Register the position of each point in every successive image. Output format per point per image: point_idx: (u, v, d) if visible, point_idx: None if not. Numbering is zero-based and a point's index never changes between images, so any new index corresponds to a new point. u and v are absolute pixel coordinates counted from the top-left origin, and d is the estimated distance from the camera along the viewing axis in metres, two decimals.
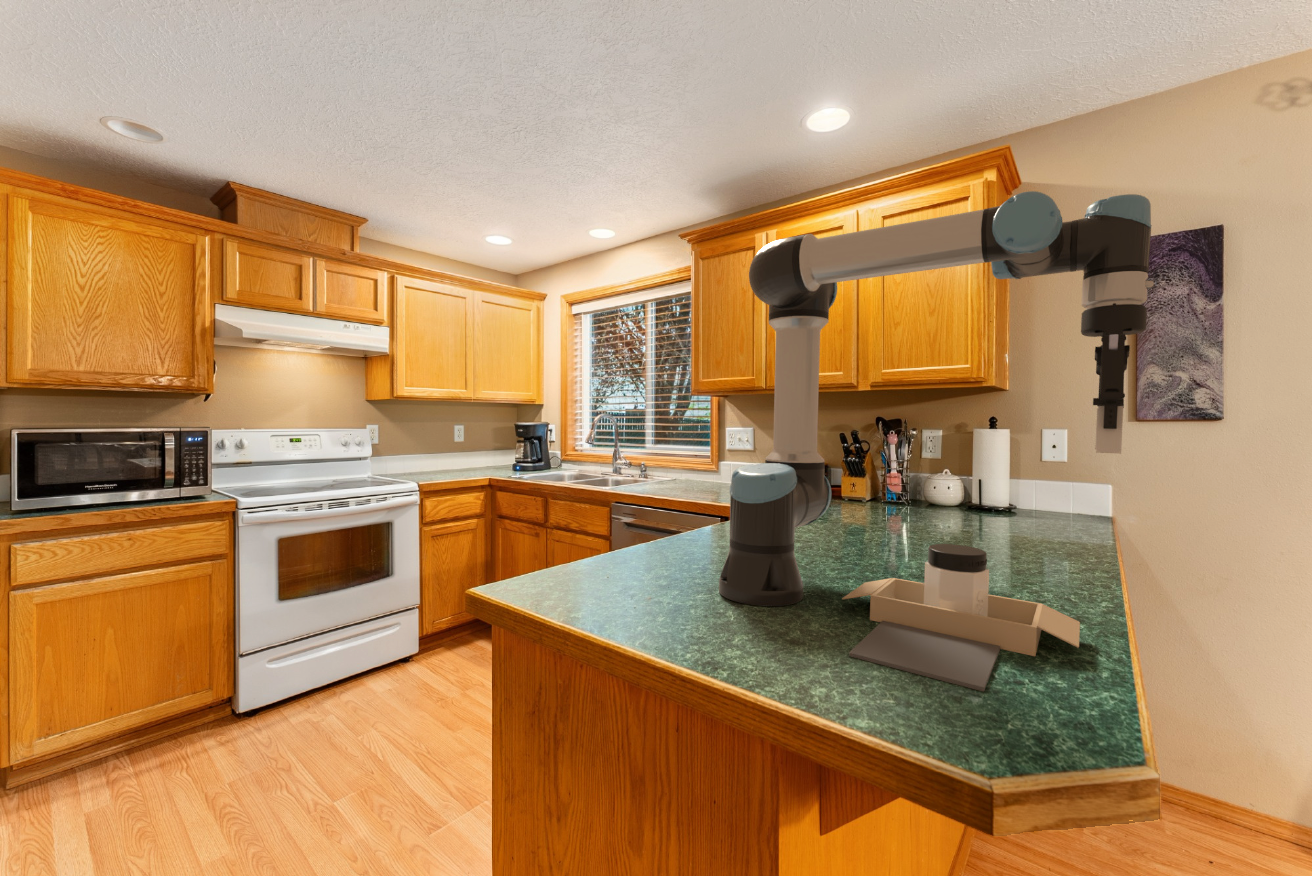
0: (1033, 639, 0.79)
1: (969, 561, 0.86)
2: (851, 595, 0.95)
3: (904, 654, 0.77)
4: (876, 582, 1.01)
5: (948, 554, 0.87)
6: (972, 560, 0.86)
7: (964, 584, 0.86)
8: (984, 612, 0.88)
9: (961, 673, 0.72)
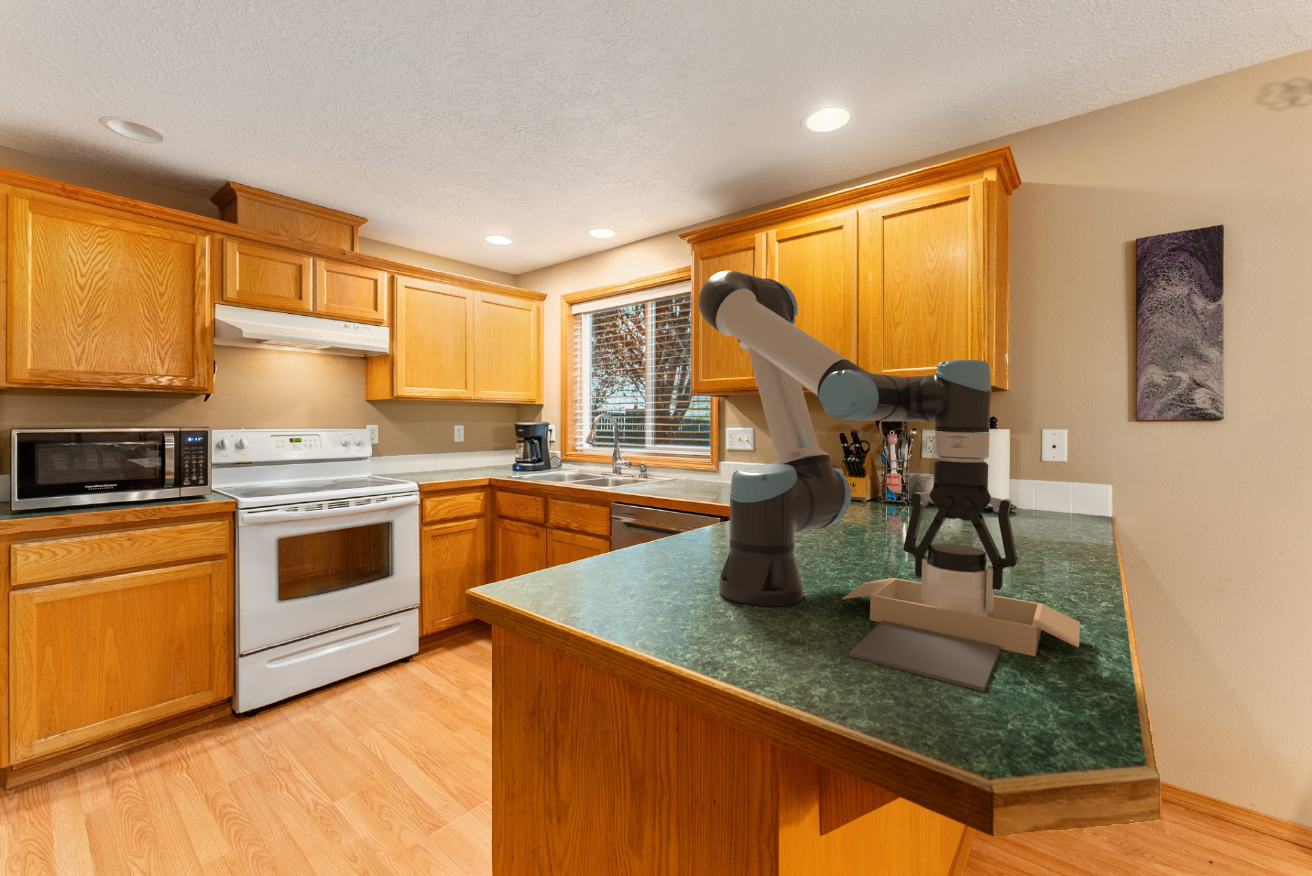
0: (1033, 639, 0.79)
1: (969, 561, 0.86)
2: (851, 595, 0.95)
3: (904, 654, 0.77)
4: (876, 582, 1.01)
5: (948, 554, 0.87)
6: (972, 560, 0.86)
7: (964, 584, 0.86)
8: (984, 612, 0.88)
9: (961, 673, 0.72)
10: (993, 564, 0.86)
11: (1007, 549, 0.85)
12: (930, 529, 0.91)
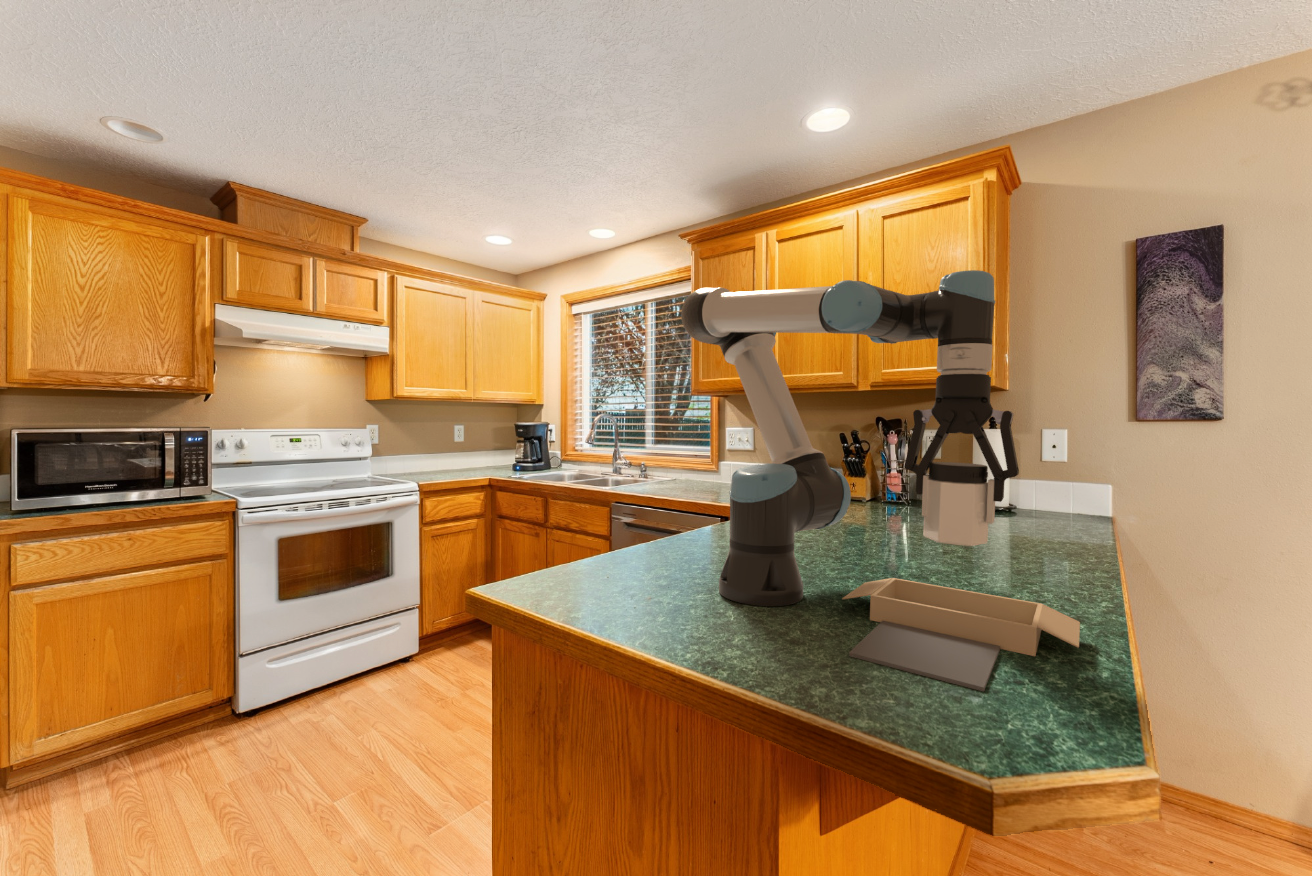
0: (1033, 639, 0.79)
1: (970, 472, 0.86)
2: (851, 595, 0.95)
3: (904, 654, 0.77)
4: (876, 582, 1.01)
5: (949, 466, 0.87)
6: (973, 471, 0.86)
7: (965, 496, 0.86)
8: (984, 525, 0.88)
9: (961, 673, 0.72)
10: (994, 475, 0.86)
11: (1009, 459, 0.85)
12: (931, 445, 0.91)
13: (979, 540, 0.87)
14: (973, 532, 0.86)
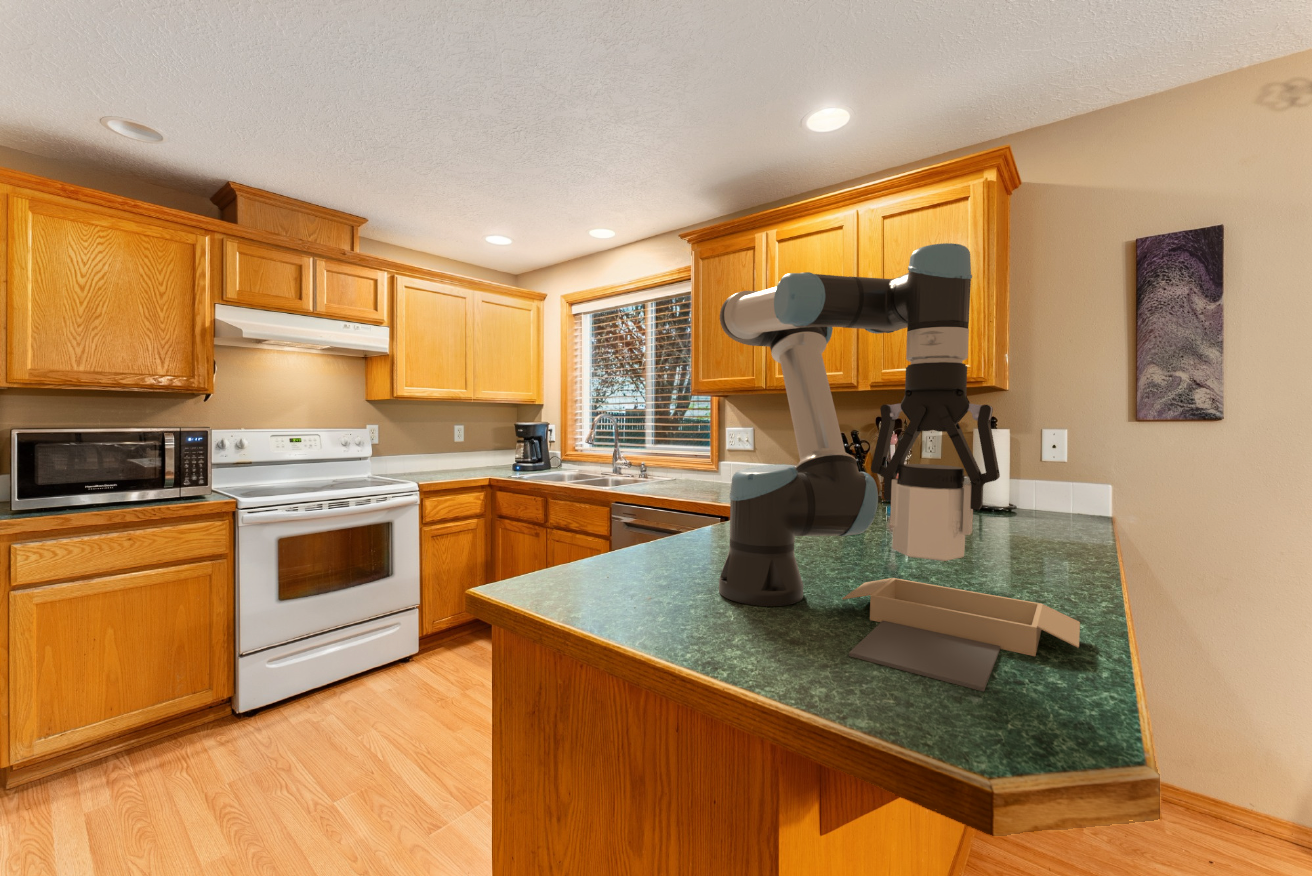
0: (1033, 639, 0.79)
1: (943, 476, 0.74)
2: (851, 595, 0.95)
3: (904, 654, 0.77)
4: (876, 582, 1.01)
5: (919, 469, 0.76)
6: (947, 474, 0.74)
7: (937, 503, 0.75)
8: (961, 536, 0.76)
9: (961, 673, 0.72)
10: (971, 479, 0.74)
11: (987, 461, 0.73)
12: (901, 444, 0.80)
13: (955, 554, 0.75)
14: (947, 545, 0.74)
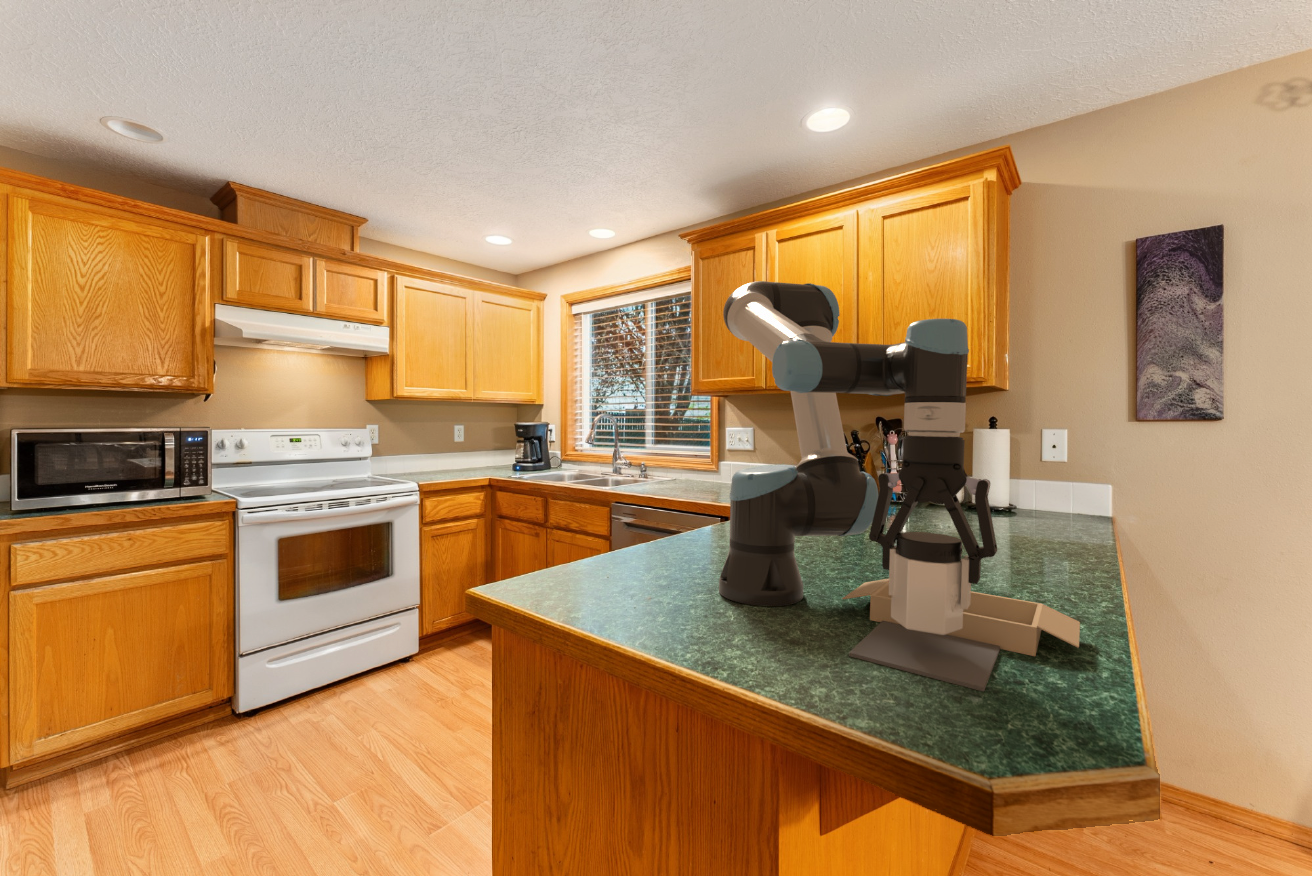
0: (1033, 639, 0.79)
1: (941, 550, 0.75)
2: (851, 595, 0.95)
3: (904, 654, 0.77)
4: (876, 582, 1.01)
5: (917, 542, 0.76)
6: (945, 549, 0.75)
7: (935, 577, 0.75)
8: (959, 609, 0.76)
9: (961, 673, 0.72)
10: (969, 554, 0.75)
11: (985, 536, 0.73)
12: (899, 514, 0.80)
13: (953, 628, 0.76)
14: (945, 619, 0.75)
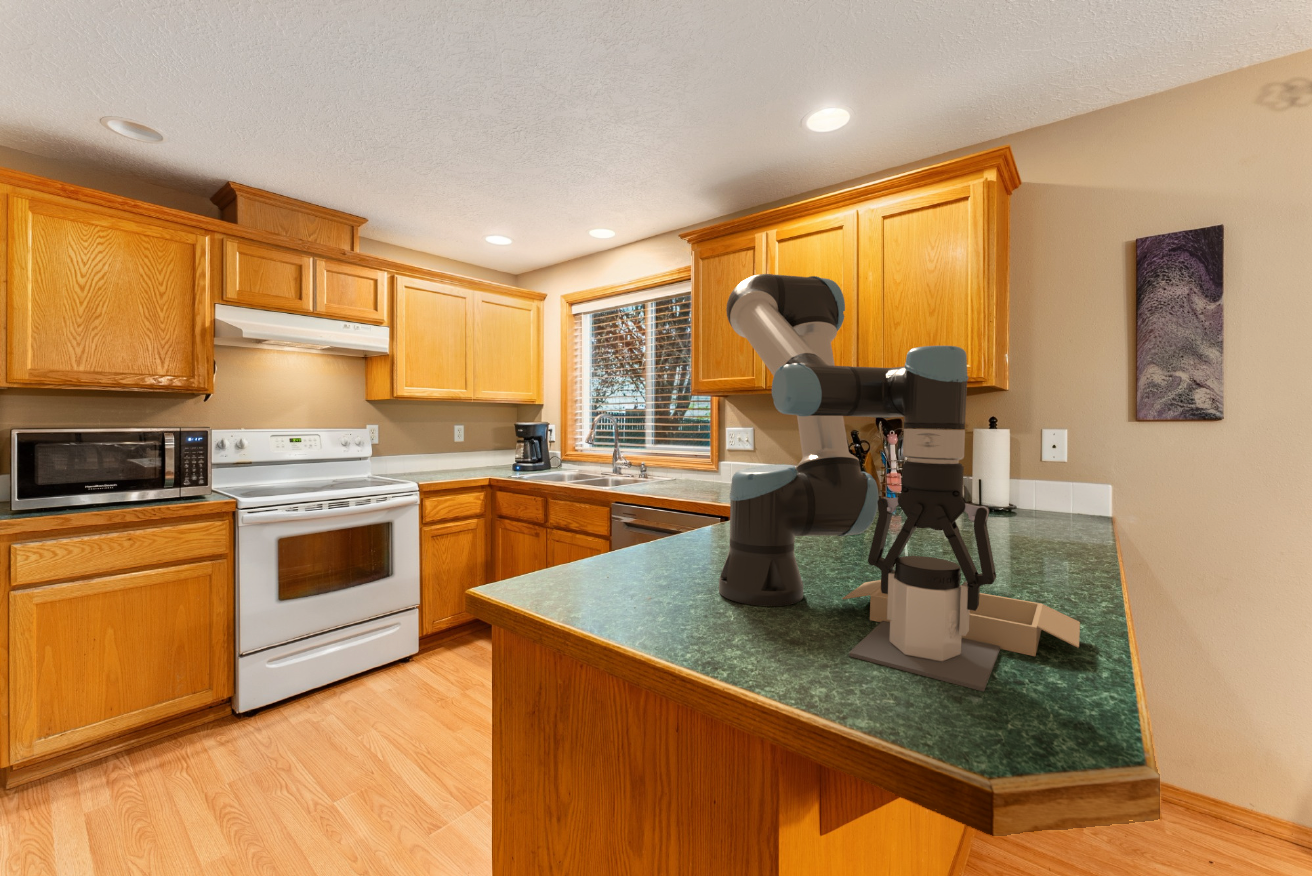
0: (1033, 639, 0.79)
1: (940, 577, 0.75)
2: (851, 595, 0.95)
3: (904, 654, 0.77)
4: (876, 582, 1.01)
5: (916, 569, 0.76)
6: (943, 576, 0.75)
7: (934, 604, 0.75)
8: (957, 635, 0.77)
9: (961, 673, 0.72)
10: (968, 581, 0.75)
11: (984, 564, 0.74)
12: (898, 539, 0.80)
13: (951, 654, 0.76)
14: (944, 646, 0.75)
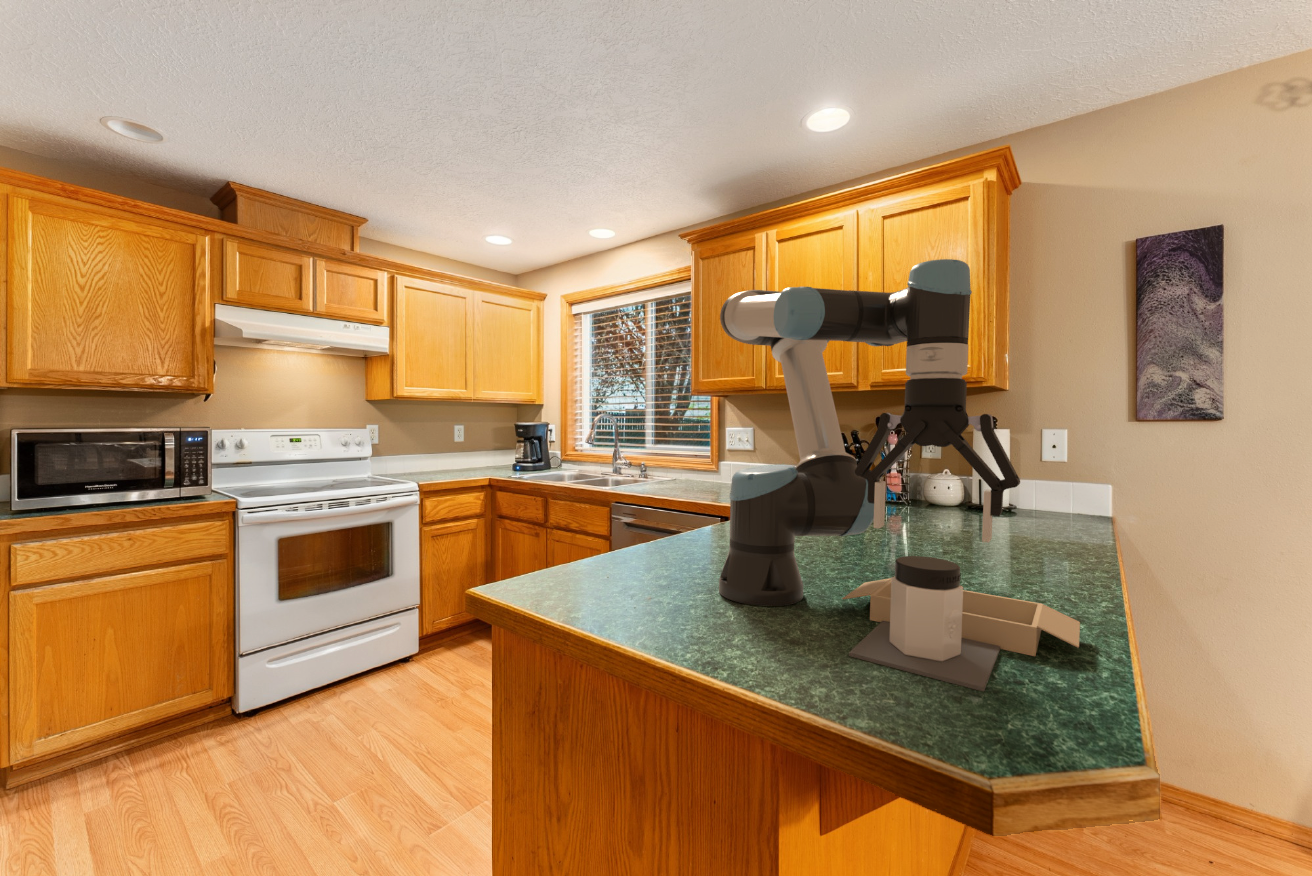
0: (1033, 639, 0.79)
1: (939, 577, 0.75)
2: (851, 595, 0.95)
3: (904, 654, 0.77)
4: (876, 582, 1.01)
5: (916, 569, 0.76)
6: (943, 576, 0.75)
7: (934, 604, 0.75)
8: (957, 635, 0.77)
9: (961, 673, 0.72)
10: (991, 487, 0.73)
11: (1003, 468, 0.72)
12: (891, 452, 0.80)
13: (951, 654, 0.76)
14: (943, 646, 0.75)
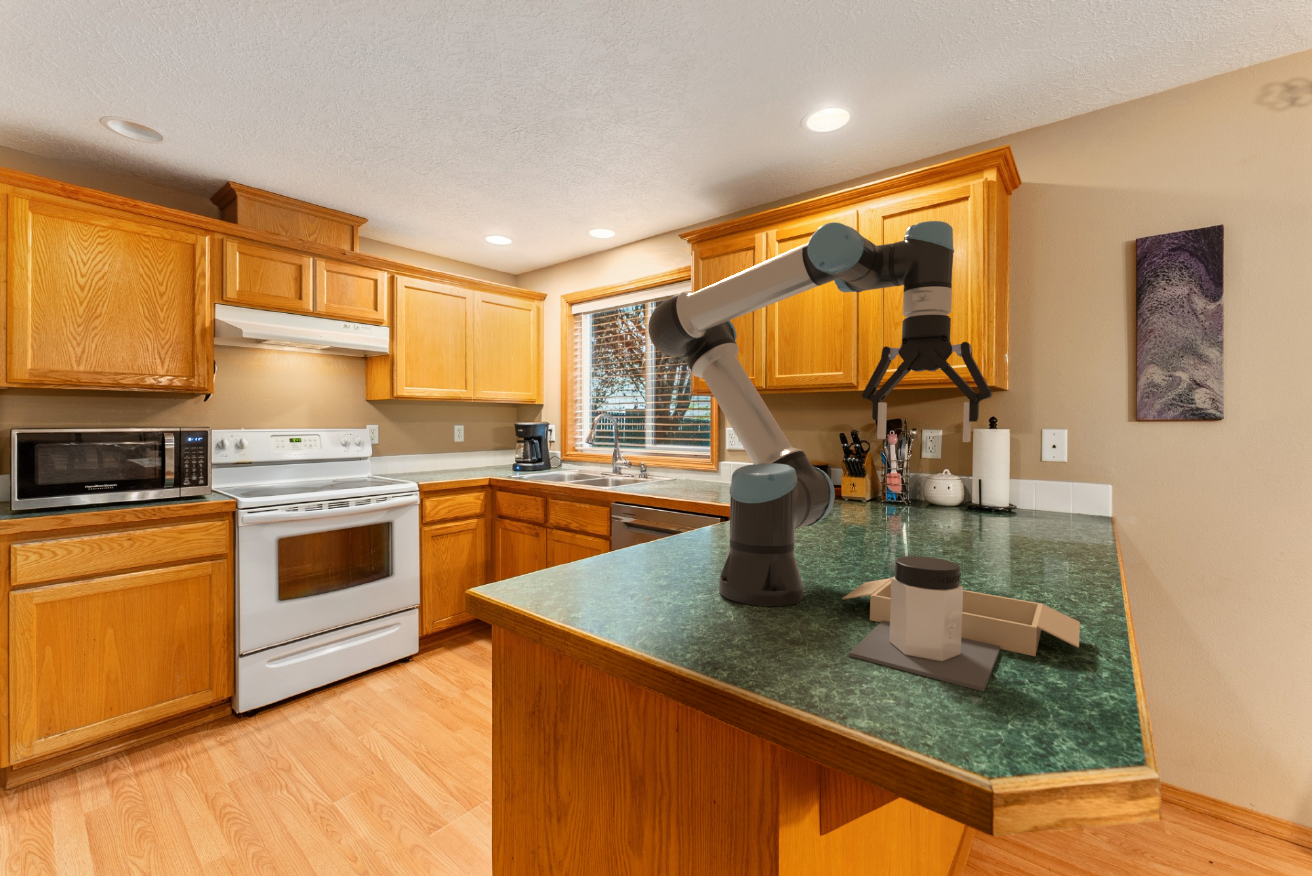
0: (1033, 639, 0.79)
1: (939, 577, 0.75)
2: (851, 595, 0.95)
3: (904, 654, 0.77)
4: (876, 582, 1.01)
5: (916, 569, 0.76)
6: (943, 576, 0.75)
7: (934, 604, 0.75)
8: (957, 635, 0.77)
9: (961, 673, 0.72)
10: (970, 398, 0.93)
11: (979, 383, 0.93)
12: (891, 377, 1.01)
13: (951, 654, 0.76)
14: (943, 646, 0.75)
